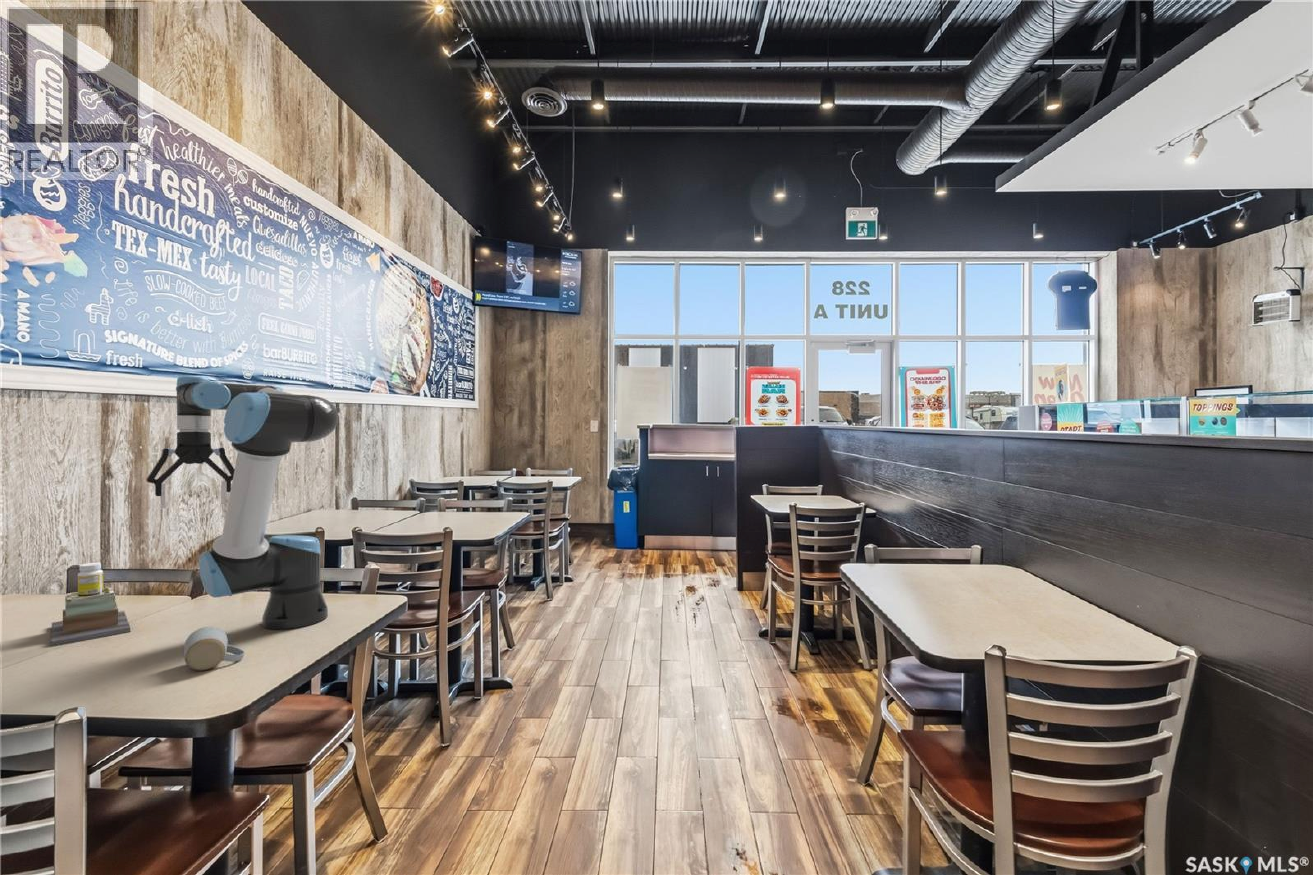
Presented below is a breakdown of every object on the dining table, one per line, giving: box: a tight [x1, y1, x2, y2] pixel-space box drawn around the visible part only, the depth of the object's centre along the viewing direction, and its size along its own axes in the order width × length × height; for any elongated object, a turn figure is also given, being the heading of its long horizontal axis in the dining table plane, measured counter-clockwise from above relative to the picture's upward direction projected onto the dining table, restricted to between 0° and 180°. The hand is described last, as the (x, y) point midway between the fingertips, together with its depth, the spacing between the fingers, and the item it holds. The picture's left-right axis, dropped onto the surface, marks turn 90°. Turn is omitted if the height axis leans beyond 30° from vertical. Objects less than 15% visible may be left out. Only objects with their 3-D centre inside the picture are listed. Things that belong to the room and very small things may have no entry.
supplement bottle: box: [77, 562, 104, 598], centre depth 149 cm, size 5×5×8 cm
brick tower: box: [50, 586, 131, 647], centre depth 149 cm, size 20×14×10 cm
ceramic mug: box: [183, 626, 245, 671], centre depth 126 cm, size 11×8×8 cm
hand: (194, 505), depth 162 cm, fingers open, 13 cm apart
